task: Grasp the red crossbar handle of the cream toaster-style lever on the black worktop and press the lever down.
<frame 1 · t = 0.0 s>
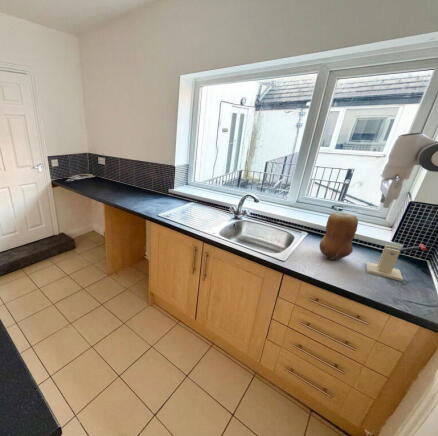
hand: (384, 204, 107), 32 cm above the counter, tool pointing down, fingers open, 8 cm apart
butternut squash: (331, 258, 127), on the counter
lever: (405, 249, 108), point 13 cm above the counter, hinge at 30.0°
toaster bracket: (382, 272, 115), on the counter
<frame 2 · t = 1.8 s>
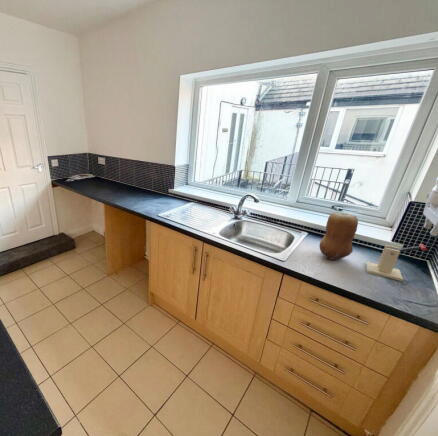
hand: (429, 231, 102), 23 cm above the counter, tool pointing down, fingers open, 8 cm apart
nothing on the counter moved.
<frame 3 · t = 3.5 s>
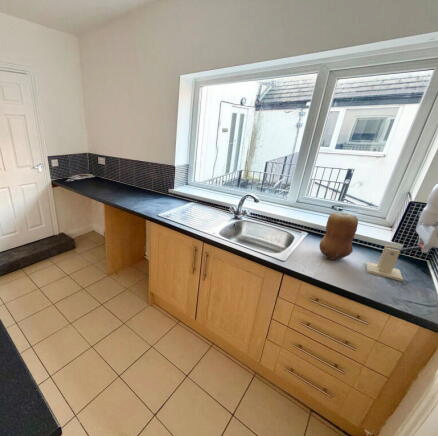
hand: (421, 248, 105), 15 cm above the counter, tool pointing down, fingers closed on lever, 5 cm apart
lever: (405, 249, 108), point 13 cm above the counter, hinge at 30.0°, touching gripper
everything else where it was.
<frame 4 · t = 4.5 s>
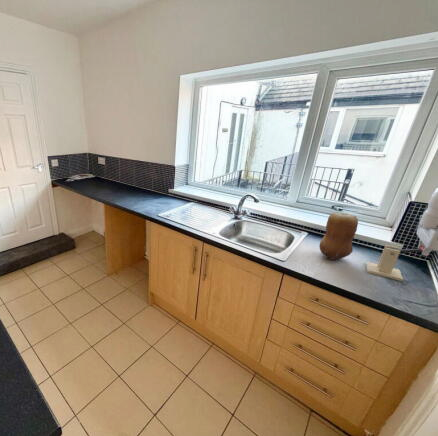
hand: (422, 252, 105), 14 cm above the counter, tool pointing down, fingers closed on lever, 5 cm apart
lever: (405, 250, 108), point 13 cm above the counter, hinge at 22.3°, touching gripper
everything else where it was.
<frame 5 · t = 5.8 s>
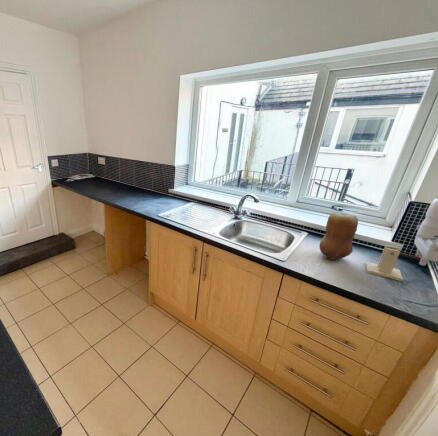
hand: (419, 261, 107), 9 cm above the counter, tool pointing down, fingers closed on lever, 5 cm apart
lever: (405, 255, 109), point 11 cm above the counter, hinge at -2.8°, touching gripper
everything else where it was.
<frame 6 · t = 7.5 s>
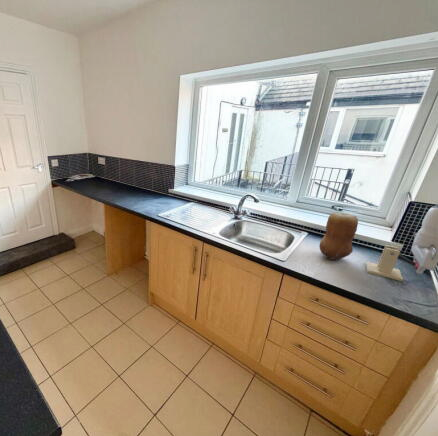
hand: (416, 269, 108), 5 cm above the counter, tool pointing down, fingers open, 6 cm apart
lever: (402, 257, 110), point 9 cm above the counter, hinge at -22.3°
everything else where it was.
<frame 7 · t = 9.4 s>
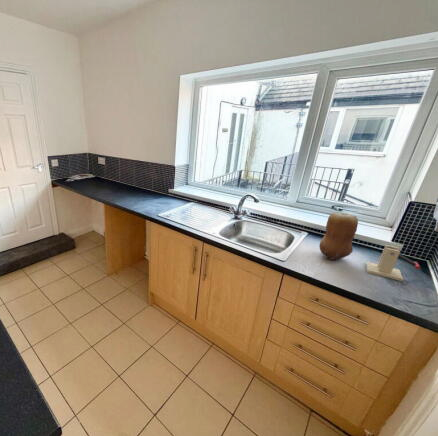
nothing on the counter moved.
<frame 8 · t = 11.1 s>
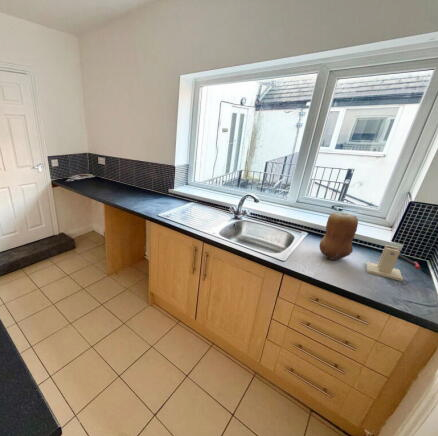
nothing on the counter moved.
at the end: lever at -22° (first picture: +30°) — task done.
